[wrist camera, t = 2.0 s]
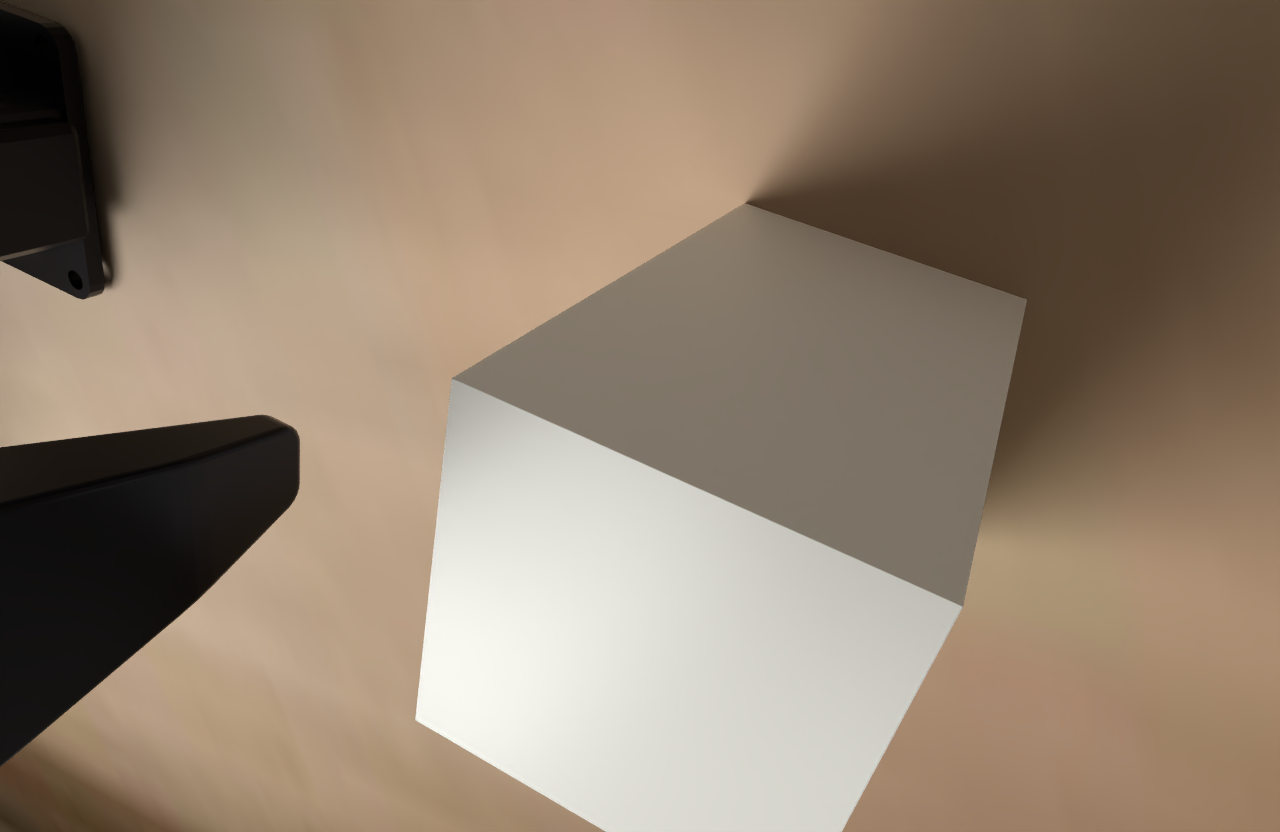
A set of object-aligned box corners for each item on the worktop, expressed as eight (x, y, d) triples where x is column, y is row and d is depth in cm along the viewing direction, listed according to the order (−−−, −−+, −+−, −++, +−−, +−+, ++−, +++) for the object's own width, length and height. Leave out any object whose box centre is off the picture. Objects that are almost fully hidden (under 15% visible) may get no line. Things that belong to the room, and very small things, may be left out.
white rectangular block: (681, 434, 17) (415, 720, 10) (744, 202, 14) (451, 378, 8) (915, 535, 15) (785, 936, 9) (1027, 299, 13) (963, 607, 6)
